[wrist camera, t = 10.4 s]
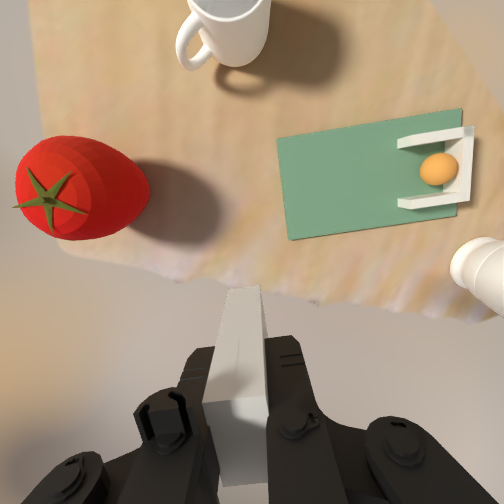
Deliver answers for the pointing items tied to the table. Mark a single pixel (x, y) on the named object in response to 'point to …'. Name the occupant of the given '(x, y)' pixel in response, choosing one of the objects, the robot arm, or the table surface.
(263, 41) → the cup
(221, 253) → the table surface
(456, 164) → the ball
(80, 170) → the tomato
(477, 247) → the jar
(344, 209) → the putting mat
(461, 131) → the white c-shaped bracket
